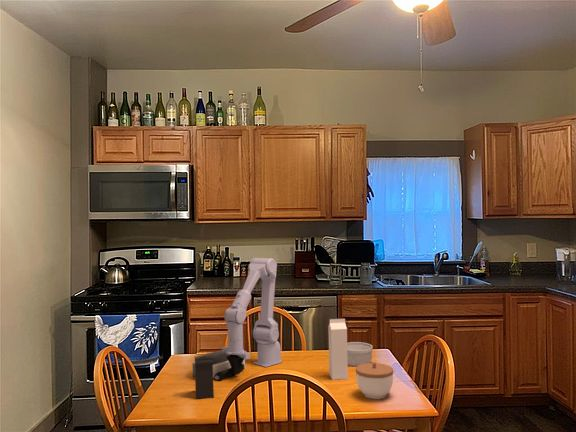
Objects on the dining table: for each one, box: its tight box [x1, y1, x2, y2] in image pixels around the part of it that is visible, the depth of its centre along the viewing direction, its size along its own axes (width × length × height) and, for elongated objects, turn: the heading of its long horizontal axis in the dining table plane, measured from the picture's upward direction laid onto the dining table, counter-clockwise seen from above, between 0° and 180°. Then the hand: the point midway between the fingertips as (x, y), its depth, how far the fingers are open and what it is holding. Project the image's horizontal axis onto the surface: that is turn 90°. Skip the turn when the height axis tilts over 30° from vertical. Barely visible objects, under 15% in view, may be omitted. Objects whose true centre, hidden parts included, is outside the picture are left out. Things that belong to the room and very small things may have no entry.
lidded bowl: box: [355, 361, 394, 400], centre depth 168 cm, size 13×13×11 cm
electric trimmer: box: [213, 364, 245, 382], centre depth 191 cm, size 4×16×3 cm, turn 144°
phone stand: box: [194, 359, 215, 400], centre depth 172 cm, size 9×6×12 cm, turn 11°
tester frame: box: [191, 349, 229, 378], centre depth 196 cm, size 21×8×7 cm, turn 134°
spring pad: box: [213, 359, 246, 378], centre depth 193 cm, size 21×2×6 cm, turn 134°
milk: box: [327, 318, 349, 381], centre depth 187 cm, size 6×6×22 cm
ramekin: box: [347, 341, 373, 367], centre depth 205 cm, size 13×13×7 cm
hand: (236, 374), depth 190 cm, fingers closed
